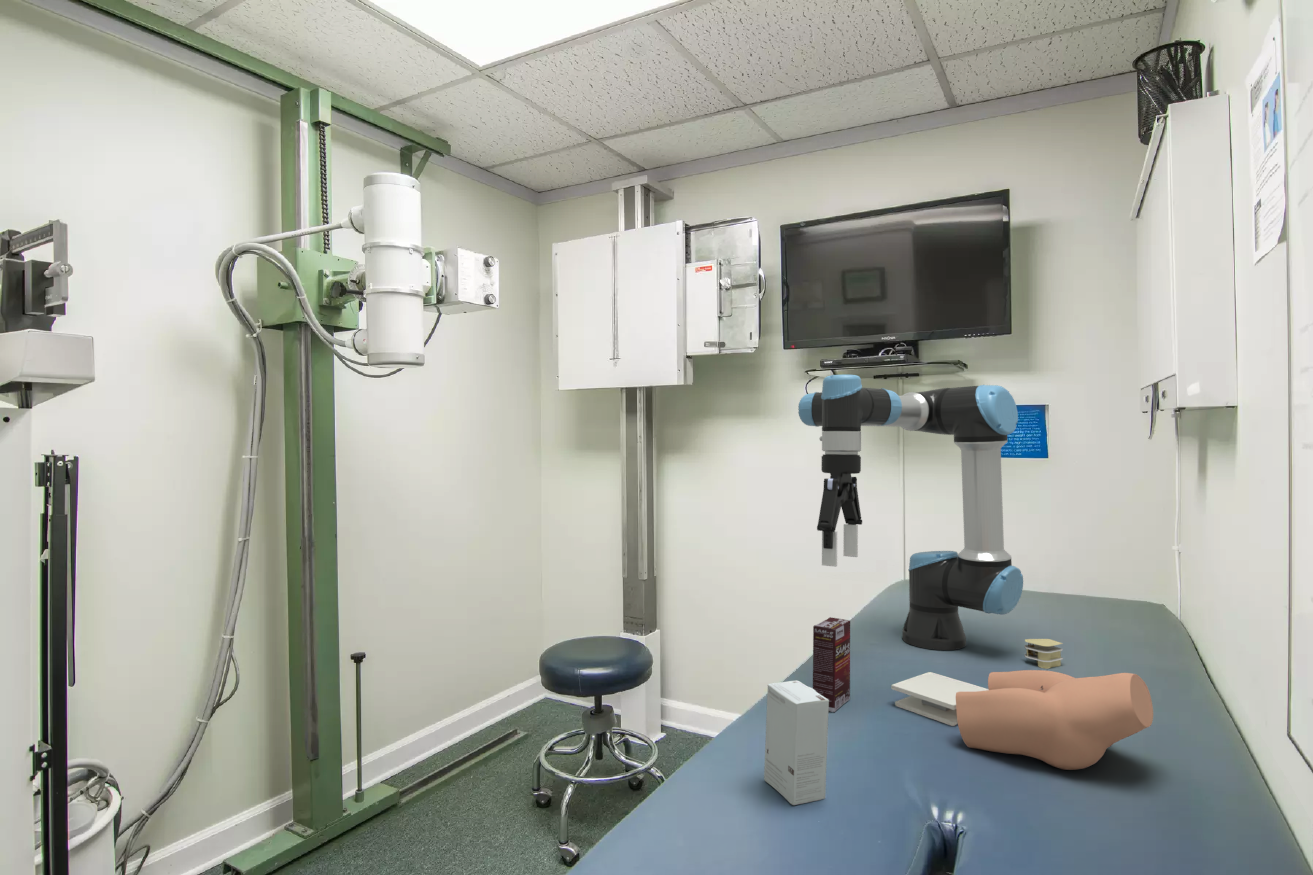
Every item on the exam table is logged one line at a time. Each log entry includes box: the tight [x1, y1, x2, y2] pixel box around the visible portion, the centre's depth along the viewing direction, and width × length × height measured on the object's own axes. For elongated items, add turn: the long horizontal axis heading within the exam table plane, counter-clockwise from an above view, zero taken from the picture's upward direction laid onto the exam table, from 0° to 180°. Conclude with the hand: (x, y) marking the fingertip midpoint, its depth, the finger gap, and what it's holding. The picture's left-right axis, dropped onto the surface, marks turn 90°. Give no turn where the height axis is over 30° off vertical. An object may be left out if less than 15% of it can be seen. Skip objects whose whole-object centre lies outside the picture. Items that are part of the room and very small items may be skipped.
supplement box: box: [812, 616, 851, 713], centre depth 136 cm, size 9×5×16 cm, turn 144°
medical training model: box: [956, 669, 1154, 771], centre depth 114 cm, size 21×25×13 cm
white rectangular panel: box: [890, 671, 989, 727], centre depth 133 cm, size 13×13×4 cm
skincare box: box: [763, 680, 829, 806], centre depth 102 cm, size 8×6×15 cm
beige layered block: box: [1024, 638, 1064, 670], centre depth 159 cm, size 10×9×6 cm
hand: (840, 561), depth 136 cm, fingers open, 13 cm apart
